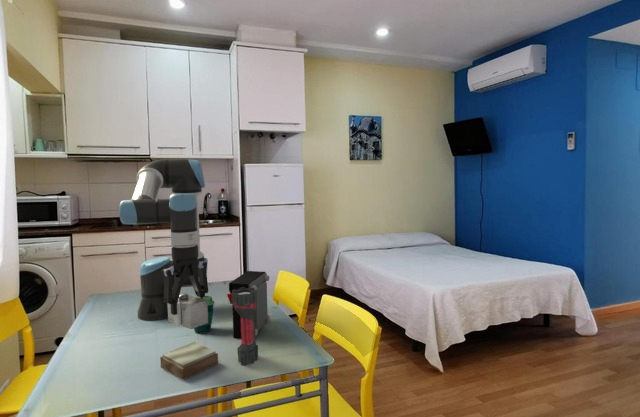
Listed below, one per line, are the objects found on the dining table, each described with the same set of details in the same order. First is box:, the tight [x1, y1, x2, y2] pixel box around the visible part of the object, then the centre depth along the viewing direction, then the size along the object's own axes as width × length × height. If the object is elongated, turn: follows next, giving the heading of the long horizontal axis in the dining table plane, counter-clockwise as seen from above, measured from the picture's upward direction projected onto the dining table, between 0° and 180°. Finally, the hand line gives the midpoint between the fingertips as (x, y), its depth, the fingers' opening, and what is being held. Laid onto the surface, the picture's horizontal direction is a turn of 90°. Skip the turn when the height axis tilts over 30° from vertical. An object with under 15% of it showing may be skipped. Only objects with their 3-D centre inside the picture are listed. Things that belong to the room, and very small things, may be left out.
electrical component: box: [226, 270, 271, 340], centre depth 142 cm, size 18×10×20 cm, turn 168°
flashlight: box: [231, 287, 259, 366], centre depth 117 cm, size 8×8×23 cm
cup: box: [193, 295, 215, 335], centre depth 143 cm, size 8×8×12 cm
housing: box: [167, 293, 208, 330], centre depth 114 cm, size 6×11×8 cm, turn 56°
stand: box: [160, 341, 219, 381], centre depth 116 cm, size 12×12×4 cm
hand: (187, 320), depth 115 cm, fingers closed on housing, 6 cm apart
